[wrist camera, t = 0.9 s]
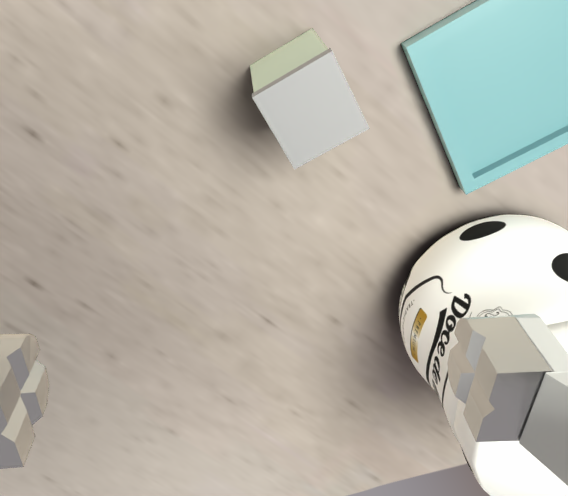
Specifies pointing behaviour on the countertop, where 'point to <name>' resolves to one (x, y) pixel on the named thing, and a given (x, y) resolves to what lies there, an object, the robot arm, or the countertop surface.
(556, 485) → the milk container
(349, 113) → the tea tin
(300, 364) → the countertop surface
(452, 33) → the tray
